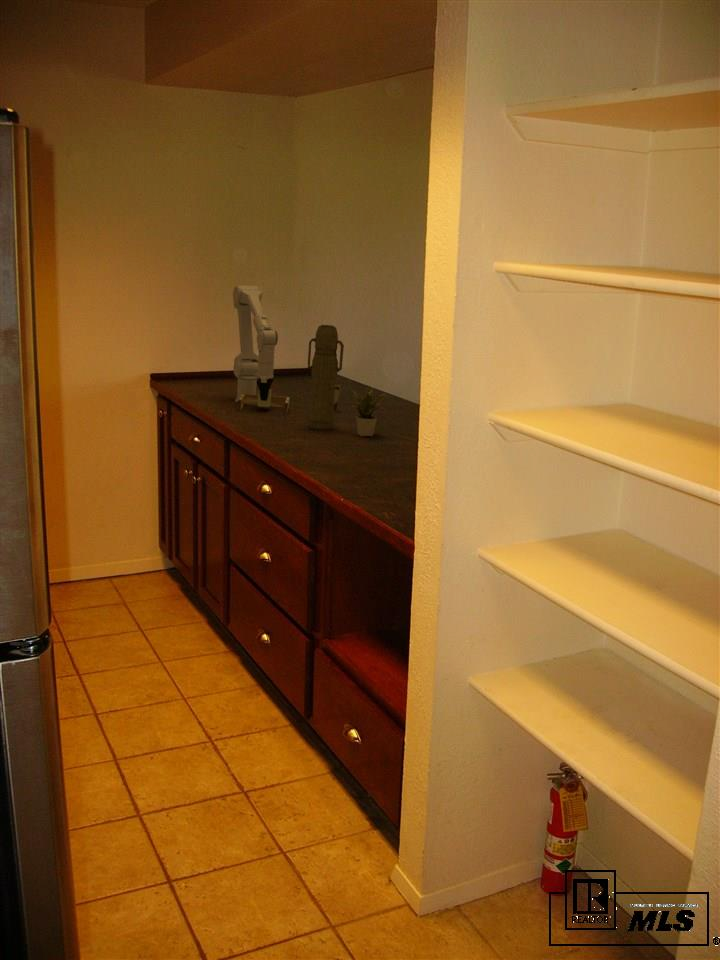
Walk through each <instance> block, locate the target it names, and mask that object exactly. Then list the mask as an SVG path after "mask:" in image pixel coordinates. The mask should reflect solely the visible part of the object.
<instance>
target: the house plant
mask: <svg viewBox="0 0 720 960" xmlns="http://www.w3.org/2000/svg"><path fill="white" fill-rule="evenodd" d="M364 388H365V389H364V390H365V395H364V396H362V397H360V395H359V393H357V392H356V390H355V391H354V390H352V392H353V393H354V395H355V396H354V398H355V399H356V401H357V405H352V406H350V408H352V407H353V408H355V409H356V410H357V411H358V413H359V415H356V416H355V417H356V428H357V429H356V431H357V435H358V436H359V435H360V437H364V436H371V437H373V436H374V432H375V430H376V429H375V428H376V425H377V420H378V417H377V416H374V415H372V414H373V413H374V411H376V410H378V409H379V410H384V409H385V408H388V407H385V406H384V407H379V405H380V403H378V402H379V401H380V400H381V401H382V400H383V398H382V397H384V396H386V395H387V392H384V393H381V394H379V395H378V396H377V397H375V398H374V399H373V397H374V395H373V394H374V393H373V391H374V390H373V387H371V389H370V391H368V390H367V388H366V387H364Z"/></svg>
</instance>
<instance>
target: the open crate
mask: <svg viewBox="0 0 720 960" xmlns="http://www.w3.org/2000/svg"><path fill="white" fill-rule="evenodd" d="M290 398H291V397H290V396H281V395H271V405H270V407H271V406H272V407H274V408H283V410H284V411H283V415H288V412H289V410H288V409H290V401H291V400H290ZM244 404H246V405H244ZM256 405H258V394H256V395H254V394H242V395H241V397H240V398H239V399H238V402H237V412H242V410H243V407H244V406H256ZM272 407H271V408H272ZM241 409H242V410H241Z"/></svg>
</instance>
